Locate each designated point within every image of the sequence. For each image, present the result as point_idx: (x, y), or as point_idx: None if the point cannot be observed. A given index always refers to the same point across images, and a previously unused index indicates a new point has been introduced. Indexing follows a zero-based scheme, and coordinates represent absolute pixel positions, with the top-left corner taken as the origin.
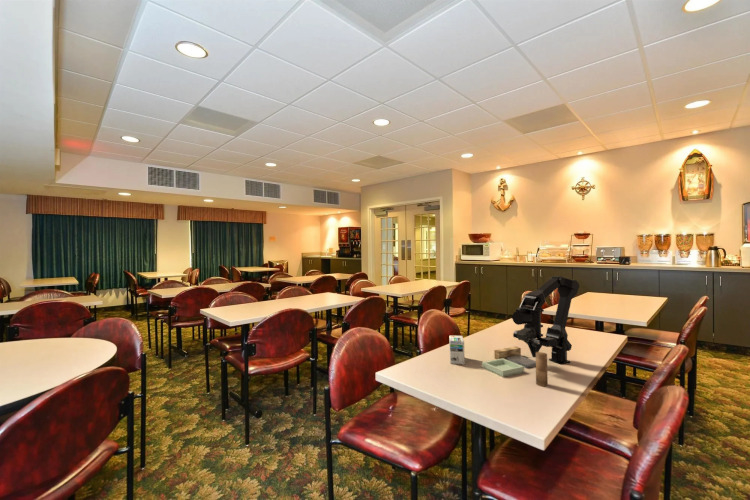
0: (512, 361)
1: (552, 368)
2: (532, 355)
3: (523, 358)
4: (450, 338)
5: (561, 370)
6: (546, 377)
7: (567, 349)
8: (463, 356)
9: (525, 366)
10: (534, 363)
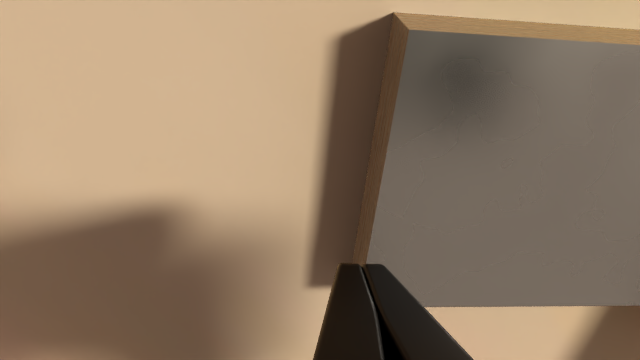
0: None
1: (181, 315)
2: (388, 283)
3: (592, 257)
4: None
5: (80, 342)
6: None
7: None
8: None
9: (416, 19)
10: (370, 229)
